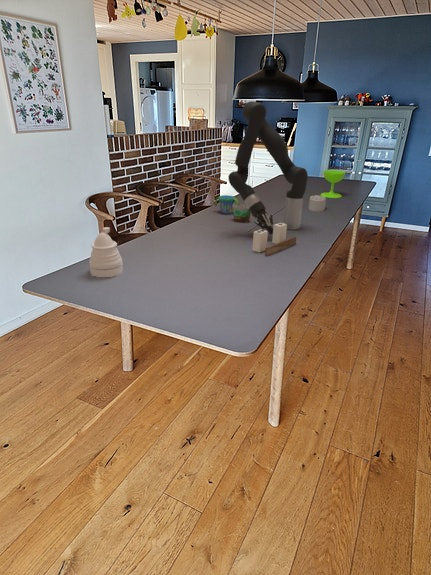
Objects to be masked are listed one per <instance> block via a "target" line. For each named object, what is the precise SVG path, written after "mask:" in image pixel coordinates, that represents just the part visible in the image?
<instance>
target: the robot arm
mask: <svg viewBox="0 0 431 575" xmlns="http://www.w3.org/2000/svg"><path fill="white" fill-rule="evenodd" d="M242 116H243V118H244V120H245V121H246V122H247V129H246V132H245V134H244V137H243V138H242V140H241V142H240V143H239V146H238V149H237V152H236V155H235V156H236V157H235V161H234V163H235V166H236V167H237V170H236V171H234V170H233V171H232V172H230V173H229V175H228V183H229V184H230V186H231V187H232V188H233V189H234V191H235V192H237V193H238V194H239V196H240V197H241V199H242V200H243V202H244V205H246V206H247V208H248V209H249V211H250V215H251V216H252V218H253V217H254V219H255V221H254V224H256V225H257V226H258V227H260V228H261V229H262V230H266V231H268V234H270V236H271V235H272V236H273V228H274V227H273V226H272V225H274V221H273V220H274V219H273V218H274V217H273V215H272V214H268V212H266V209H267V208H266V206H265V205H264V203H263V202H262V200H261V198H260V197H259V195H257V193H256V191H255V190H254V187H252V185H249V184H247V181H248V178H249V170H250V169H249V167H250V166H249V164H250V161H251V158H252V153H253V150H254V147H255V144H256V141H257V138H258V137H259V139H260V141H261V142H262V144H263V146H264V147H265V149H266V150H267V151H268V153H269V155H270V156H271V157H272V159H273V160H274V161H275V163H276V164H277V165H278V168H279V169H280V171H281V172H282V175H283V177H284V178H285V180H286V181H287V182H288V183H289V184H291V185H292V186H291V189H290V190H288V191H286V196H285V206H284V207H285V208H284V218H283V224H287V230H299V229H300V228H301V221H302V220H301V219H302V210H303V203H304V202H303V201H304V195H305V193H306V190H307V183H308V177H309V176H308V171H307V170H306V168H304V167H301V166H297V165H295V164H294V162H293V161H292V159H291V157H290V156H289V149H288V146H287V143H286V141H285V140H284V138H283V137H282V135H281V133H280V132H278V131H277V130H276V129H275V128H274V127H273V126H272V125H271V124H270V123H269V122H268V120H266V116H267V109H266V106H265V105H264V104H263V103H261V102H258V101H253V100H252V101H247V102H246V103H245V104H244V105H243V108H242Z"/></svg>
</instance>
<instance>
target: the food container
mask: <svg viewBox="0 0 431 575" xmlns="http://www.w3.org/2000/svg"><path fill="white" fill-rule="evenodd" d="M232 207H233V220H234V221H235V222H237V223H248V222H250V218H251V213H250V211H249V209H248V208H247V206H246V204H243V203H242V204H237V203H235V202H234V203H233V206H232Z"/></svg>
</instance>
